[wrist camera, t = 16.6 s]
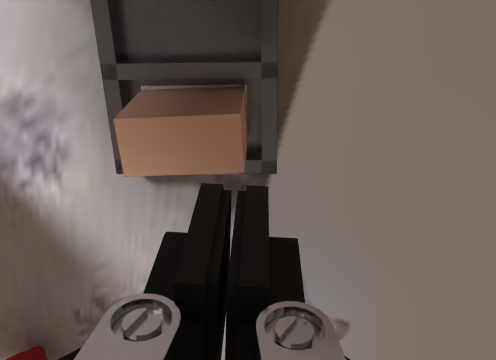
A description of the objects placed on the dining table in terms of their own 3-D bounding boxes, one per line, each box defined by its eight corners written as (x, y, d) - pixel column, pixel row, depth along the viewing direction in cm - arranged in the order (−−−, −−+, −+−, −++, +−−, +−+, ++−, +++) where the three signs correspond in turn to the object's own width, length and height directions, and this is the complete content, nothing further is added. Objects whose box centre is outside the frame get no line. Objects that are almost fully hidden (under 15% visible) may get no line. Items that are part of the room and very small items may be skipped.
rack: (126, 160, 35) (62, 253, 24) (96, -53, 29) (-7, -57, 18) (276, 160, 34) (279, 255, 23) (277, -57, 28) (283, -64, 17)
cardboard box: (147, 140, 33) (124, 176, 27) (140, 91, 31) (113, 119, 26) (248, 136, 32) (243, 172, 27) (245, 86, 31) (240, 113, 25)
